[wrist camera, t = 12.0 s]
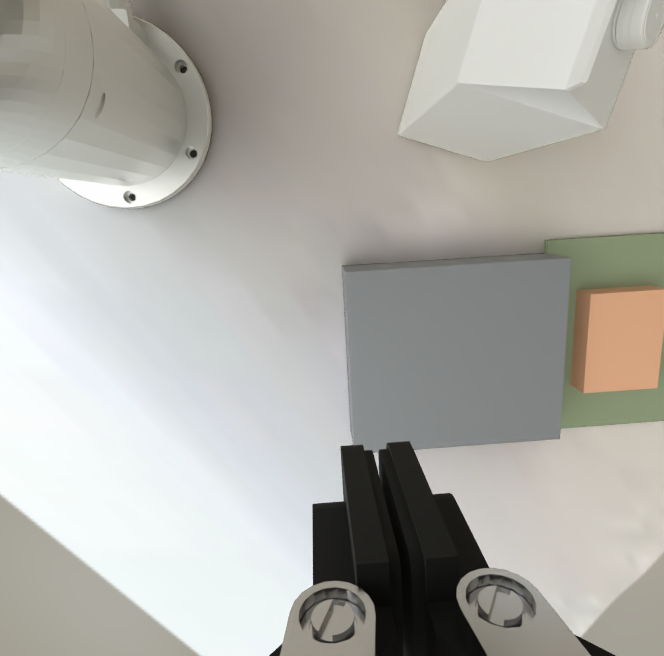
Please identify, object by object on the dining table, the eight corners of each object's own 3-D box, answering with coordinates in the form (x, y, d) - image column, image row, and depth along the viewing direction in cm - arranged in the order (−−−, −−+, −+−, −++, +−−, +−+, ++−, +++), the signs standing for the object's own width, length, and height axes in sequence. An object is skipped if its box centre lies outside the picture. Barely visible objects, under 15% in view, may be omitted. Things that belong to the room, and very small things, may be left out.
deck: (341, 265, 37) (345, 272, 33) (544, 253, 37) (571, 258, 34) (350, 430, 40) (354, 453, 37) (536, 417, 41) (559, 438, 37)
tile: (668, 289, 36) (650, 285, 38) (590, 294, 36) (576, 290, 38) (657, 388, 38) (640, 379, 40) (583, 393, 38) (570, 384, 40)
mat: (545, 240, 37) (547, 240, 37) (719, 229, 38) (723, 229, 37) (535, 427, 41) (537, 430, 41) (694, 416, 41) (697, 418, 41)
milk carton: (396, 135, 35) (490, 52, 17) (425, 31, 33) (566, -189, 15) (486, 162, 36) (673, 112, 17) (519, 62, 34) (763, -112, 16)
